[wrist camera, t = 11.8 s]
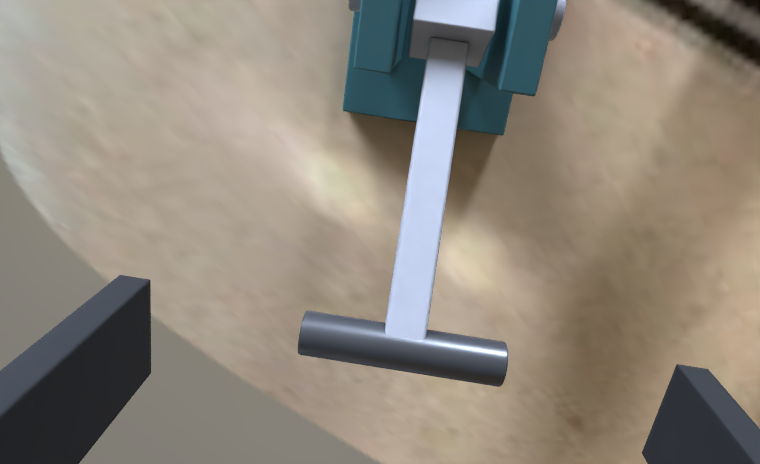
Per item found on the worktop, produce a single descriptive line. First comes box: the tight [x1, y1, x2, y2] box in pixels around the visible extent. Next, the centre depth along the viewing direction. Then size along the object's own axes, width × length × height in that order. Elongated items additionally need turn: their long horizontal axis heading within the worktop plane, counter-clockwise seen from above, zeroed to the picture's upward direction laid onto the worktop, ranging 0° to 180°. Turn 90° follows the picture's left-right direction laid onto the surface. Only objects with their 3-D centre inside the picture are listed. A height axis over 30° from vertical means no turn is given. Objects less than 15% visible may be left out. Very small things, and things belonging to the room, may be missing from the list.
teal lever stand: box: [343, 0, 567, 136], centre depth 20 cm, size 10×8×13 cm
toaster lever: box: [298, 0, 508, 387], centre depth 15 cm, size 12×6×2 cm, turn 172°
